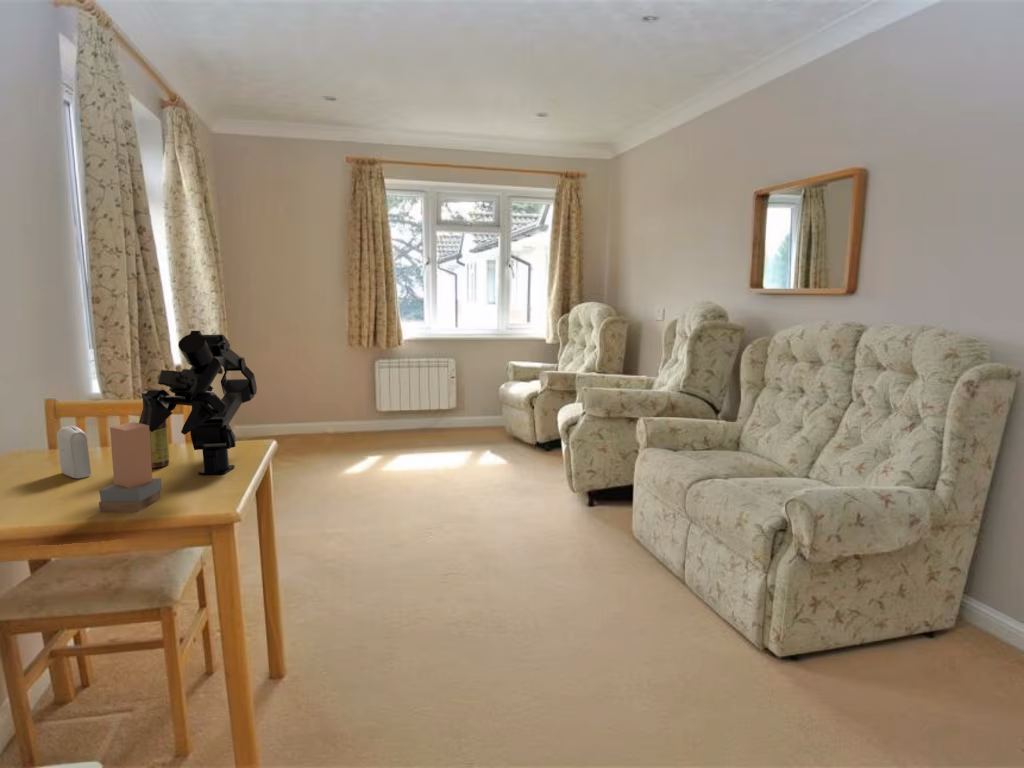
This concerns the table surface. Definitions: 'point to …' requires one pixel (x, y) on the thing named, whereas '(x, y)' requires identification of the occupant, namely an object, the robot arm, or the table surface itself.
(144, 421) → the sauce bottle
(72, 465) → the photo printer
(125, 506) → the walnut slab
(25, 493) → the table surface
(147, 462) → the terracotta pillar
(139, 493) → the slate slab
